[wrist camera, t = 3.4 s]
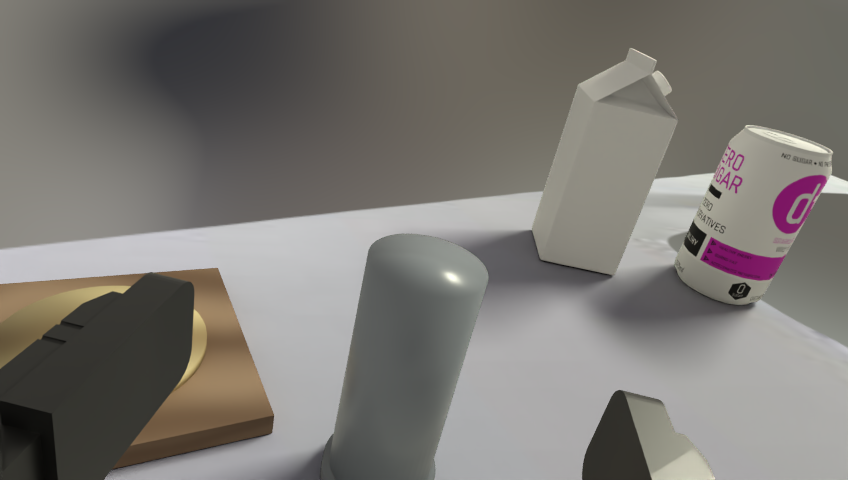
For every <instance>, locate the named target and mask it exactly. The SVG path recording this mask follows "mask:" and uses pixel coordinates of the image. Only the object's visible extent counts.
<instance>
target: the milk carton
mask: <svg viewBox="0 0 848 480" xmlns="http://www.w3.org/2000/svg"><path fill="white" fill-rule="evenodd" d="M656 62H657V61H656V60H655V59H653V58H651V57H649V56H647V55H645V54H643V53H641V52H639V51H636V50H635V49H632V48H630V49H629V52H628V55H627V58H626V60H625V61H623V62H621V63H619V64H617V65H615V66H613V67H611V68H610V69H608V70H606V71H604V72H602V73H600V74H598V75H596V76H594V77H592V78H590V79H588V80H586V81H584V82H582V83H580V84H578V87H577V90H576V93H575V96H574V99H573V102H572V106H571V109H570V112H569V115H568V118H567V121H566V124H565V127H564V130H563V133H562V136H561V139H560V143H559V146H558V149H557V152H556V155H555V158H554V161H553V164H552V167H551V170H550V173H549V176H548V179H547V183H546V186H545V189H544V192H543V195H542V198H541V201H540V204H539V207H538V210H537V213H536V216H535V219H534V223H533V226H532V232H533V235H534V239H535V243H536V246H537V250H538V254H539V257H540V259H541V260H544V261H548V262H553V263H558V264H562V265H567V266H572V267H576V268H581V269H586V270H591V271H595V272H600V273H605V274H610V275H615V273H616V270H617V268H618V265H619V263H620V261H621V258H622V256H623V253H624V251H625V249H626V246H627V244H628V241H629V239H630V236H631V234H632V232H633V229H634V227H635V224H636V222H637V220H638V217H639V215H640V212H641V210H642V207H643V205H644V203H645V200H646V198H647V195H648V193H649V191H650V188H651V186H652V183H653V181H654V178H655V176H656V174H657V171H658V169H659V166H660V164H661V161H662V159H663V156H664V154H665V152H666V149H667V147H668V145H669V142H670V140H671V137H672V135H673V132H674V130H675V127H676V125H677V122H678V119H677V117H676V115H675V114H674V112H673V110H672V108H671V106H670V105H669V103H668V101H667V100H666V98H665V95H667V94H669V93H670V92H671V91H672V90H671V87H670V85H669V83H668V81H667V80H666V78H665V77H664V76H663V75H662V74H661V73H660V72H659V71H656V72H654V73H653V70H654V67H655V64H656ZM652 73H653V74H652Z"/></svg>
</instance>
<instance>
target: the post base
mask: <svg viewBox="0 0 848 480" xmlns="http://www.w3.org/2000/svg"><path fill="white" fill-rule="evenodd" d="M145 274H147V273H143V274H130V275H117V276H103V277H90V278H77V279H63V280H50V281H37V282H23V283H10V284H0V369H1V368H2V367H3V366H4V365H6V364H7V363H8V362H9V361H11V360H12V359H13V358H14V357H16V356H17V355H18V354H19V353H21V352H22V351H23V350H24V349H26V348H27V347H28V346H30V345H31V344H32V343H33V342H35V341H36V340H37V339H40V340H41V338H42V336H43V334H45V333H46V332H47V331H48V330H50V329H51V328H52V327H53V326H55V325H56V324H58V325H59V324H60V323H61V320H62V319H64V318H65V317H66V316H67V315H69V314H70V313H71V312H72V311H74V310H75V309H76V308H77V307H79V306H80V305H81V304H82V303H85V302H87V301H89V300H92V299H94V298H97V297H99V296H102V295H104V294H107V293H109V292H112V291H114V292H118V293H122V294H123V293H124V292H125V291H126V290H128V289H129V288H130V287H131V286H132V285H133V284H135V283H136V282H137V281H138V280H139V279H140V278H142V277H143V276H144V275H145ZM157 274H161V275H165V276H169V277H173V278H177V279H181V280H185V281H189V282H191V283H192V284H193V286H194V315H193V336H192V351H191V356H190V360H189V363H188V366H187V369H186V371H185V373H184V375H183V377H182V379H181V380H180V382H179V383H178V385H177V386H176V387H175V388H174V390H173V391H172V392H171V394H170V395H169V396H168V397H167V399H166V400H165V401H164V403H163V404H162V405H161V406H160V408H159V409H158V410H157V412H156V413H155V414H154V415H153V417H152V418H151V419H150V421H149V422H148V423H147V424H146V426H145V427H144V428H143V430H142V431H141V432H140V433H139V435H138V436H137V437H136V439H135V440H134V441H133V442H132V444H131V445H130V446H129V448H128V449H127V450H126V451H125V453H124V454H123V455H122V457H121V458H120V459H119V460H118V462H117V463H116V464H115V466H114V467H113V468H112V469H115V468H120V467H124V466H129V465H133V464H138V463H142V462H146V461H151V460H155V459H160V458H164V457H168V456H173V455H177V454H182V453H186V452H191V451H195V450H199V449H204V448H208V447H213V446H217V445H222V444H226V443H230V442H235V441H239V440H244V439H248V438H253V437H257V436H261V435H266V434H270V433H272V429H273V421H274V414H273V411H272V408H271V406H270V403H269V401H268V398H267V395H266V393H265V390H264V388H263V385H262V382H261V380H260V377H259V374H258V372H257V369H256V367H255V364H254V361H253V359H252V356H251V354H250V351H249V348H248V346H247V343H246V340H245V338H244V335H243V333H242V330H241V327H240V325H239V322H238V320H237V317H236V314H235V312H234V309H233V307H232V304H231V301H230V299H229V296H228V293H227V291H226V288H225V286H224V283H223V280H222V278H221V275H220V273H219V270H218V268H210V269H196V270H183V271H170V272H157Z"/></svg>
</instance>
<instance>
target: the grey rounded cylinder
mask: <svg viewBox="0 0 848 480" xmlns="http://www.w3.org/2000/svg"><path fill="white" fill-rule="evenodd" d="M488 279H489V277H488V272H487V269H486V267H485V266H484V264H483V263H482V262H481V261H480V260H479V259H478V258H477V257H476V256H475V255H473V254H472V253H470V252H469V251H467V250H466V249H464V248H462V247H460V246H458V245H456V244H454V243H451V242H449V241H446V240H443V239H439V238H436V237H431V236H426V235H419V234H396V235H390V236H386V237H383V238H381V239H379V240H377V241H376V242H374V243H373V244H372V245H371V247H370V249H369V251H368V256H367V262H366V267H365V272H364V277H363V283H362V288H361V293H360V298H359V304H358V309H357V314H356V319H355V325H354V330H353V335H352V340H351V346H350V351H349V356H348V361H347V367H346V372H345V377H344V382H343V388H342V393H341V398H340V403H339V409H338V414H337V419H336V424H335V430H334V434H333V435H332V436H331V437H330V439H329V440H328V442H327V444H326V446H325V449H324V453H323V459H322V464H321V471H320V478H321V480H434V478H435V462H434V456H435V453H436V450H437V447H438V443H439V440H440V437H441V433H442V430H443V427H444V424H445V420H446V417H447V414H448V411H449V407H450V404H451V401H452V398H453V394H454V391H455V388H456V384H457V381H458V378H459V375H460V371H461V368H462V365H463V362H464V358H465V355H466V352H467V348H468V345H469V342H470V339H471V335H472V332H473V329H474V326H475V322H476V319H477V316H478V313H479V309H480V306H481V303H482V299H483V296H484V293H485V290H486V286H487V283H488Z"/></svg>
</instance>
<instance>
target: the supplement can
mask: <svg viewBox="0 0 848 480" xmlns="http://www.w3.org/2000/svg"><path fill="white" fill-rule="evenodd" d="M832 154H833V152H832V151H831V150H830V149H828V148H826V147H824V146H822V145H820V144H818V143H815V142H813V141H810V140H807V139H804V138H801V137H798V136H795V135H792V134H789V133H785V132H782V131H778V130H773V129H770V128H765V127H760V126H753V125H747V126H745V128H744V129H743V130H742V131H741V132H740V133H738V134H737V135H736V136H735V137H733V138H732V139H731V140H730V142H729V144H728V147H727V149H726V151H725V153H724V155H723V157H722V160H721V162H720V164H719V166H718V168H717V170H716V173H715V175H714V177H713V179H712V181H711V183H710V185H709V188H708V190H707V192H706V194H705V196H704V198H703V201H702V203H701V205H700V207H699V209H698V211H697V214H696V216H695V218H694V220H693V222H692V224H691V227H690V229H689V231H688V233H687V236H686V237H685V240H684V242H683V244H682V246H681V249H680V251H679V253H678V255H677V257H676V259H675V263H674V266H675V268H676V269H677V271H678V272H677V274H678V275H679V277H680V279H681V280H682V281H683V282H685V283H686V284H687V285H688V286H689V287H691V288H692V289H694V290H696V291H697V292H699V293H701V294H703V295H705V296H707V297H710V298H712V299H714V300H718V301H721V302H724V303H727V304H734V305H748V304H749V303H750V302H757V301H759V300H760V299H761V298H762V297H763V295H764V293H765V291H766V290H767V288H768V286H769V284H770V282H771V280H772V279H773V277H774V275H775V273H776V272H777V270H778V268H779V266H780V265H781V263H782V261H783V259H784V257H785V255H786V254H787V252H788V250H789V248H790V247H791V245H792V243H793V241H794V239H795V238H796V236H797V234H798V232H799V231H800V229H801V227H802V225H803V223H804V222H805V220H806V218H807V216H808V214H809V213H810V211H811V209H812V207H813V205H814V204H815V202H816V200H817V198H818V197H819V195H820V193H821V191H822V189H823V188H824V186H825V184H826V182H827V180H828V179H829V177H830V175H831V173H832V164H831V163H832V162H831V156H832Z"/></svg>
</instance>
